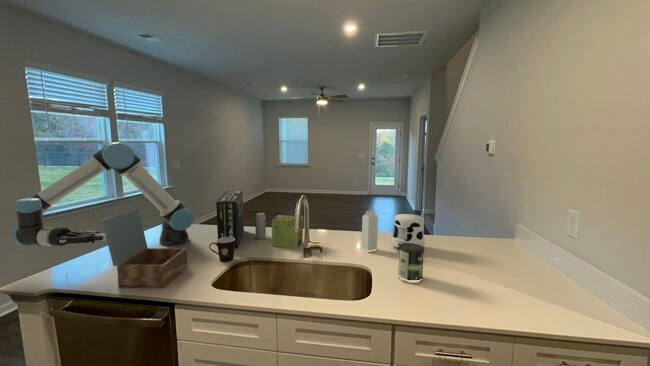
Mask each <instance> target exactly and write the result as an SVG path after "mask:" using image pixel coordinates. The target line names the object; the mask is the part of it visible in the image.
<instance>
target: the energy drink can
mask: <svg viewBox="0 0 650 366" xmlns="http://www.w3.org/2000/svg"><path fill="white" fill-rule="evenodd" d="M254 218H255V239H257V240H265V238H266V237H267V230H266V228H267V226H266V224H267V223H266V222H267V219H266V215H265V212H258V213H256V215H255V217H254Z"/></svg>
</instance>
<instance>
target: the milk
mask: <svg viewBox="0 0 650 366" xmlns="http://www.w3.org/2000/svg"><path fill="white" fill-rule="evenodd" d="M361 220H362V223H361V226H362V227H361V229H362V230H361V249H362V248H364V249H366V250H373V249H377V250H378V232H379V231H378V227H379V217H378V215H377V214H376V210H366V211H365V214H363V215H362V219H361Z"/></svg>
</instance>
